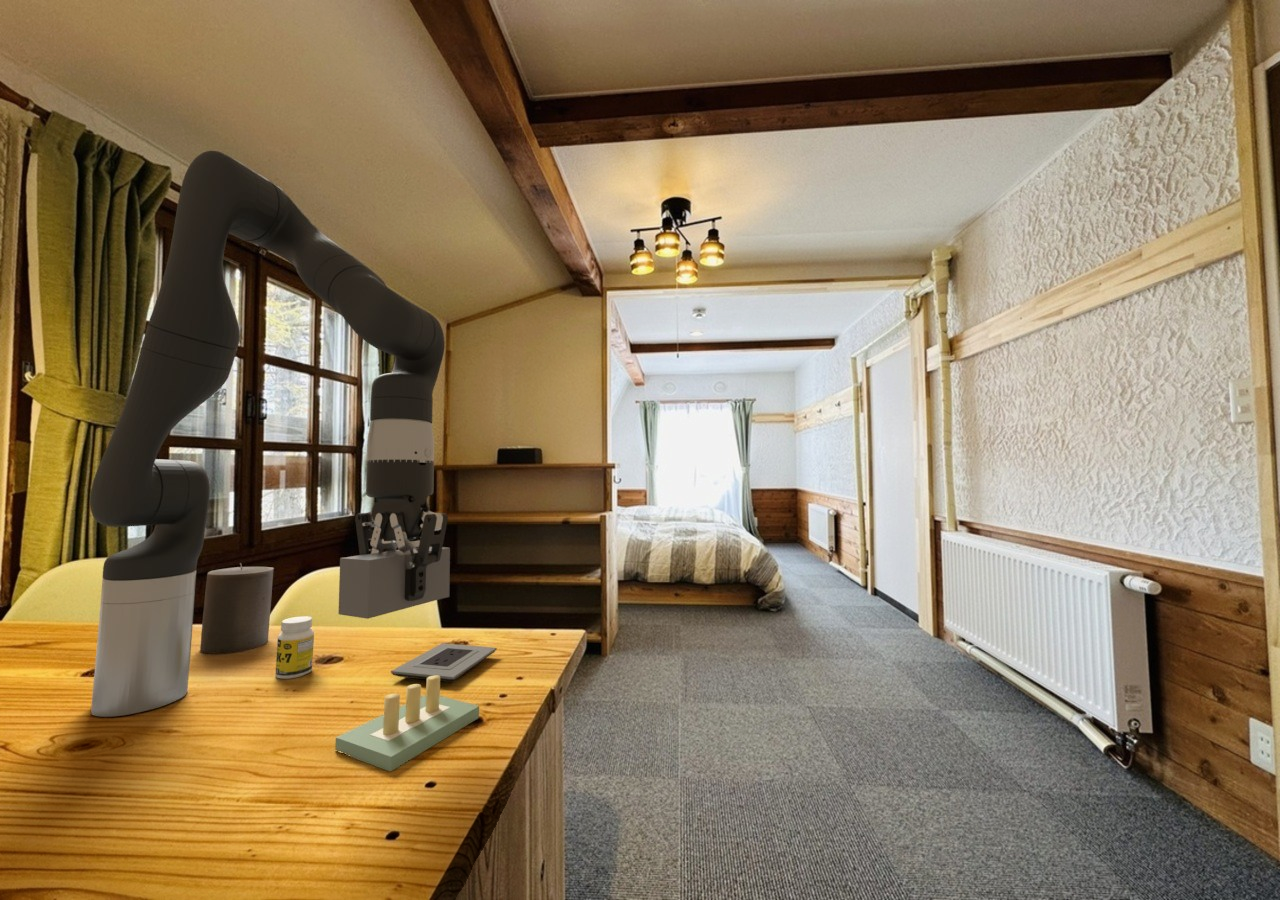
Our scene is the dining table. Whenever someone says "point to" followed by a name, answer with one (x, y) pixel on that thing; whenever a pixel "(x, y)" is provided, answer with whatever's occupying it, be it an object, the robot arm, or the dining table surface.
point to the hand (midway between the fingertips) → (398, 597)
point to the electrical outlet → (444, 662)
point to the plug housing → (386, 583)
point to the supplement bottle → (295, 648)
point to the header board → (407, 726)
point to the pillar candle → (236, 609)
